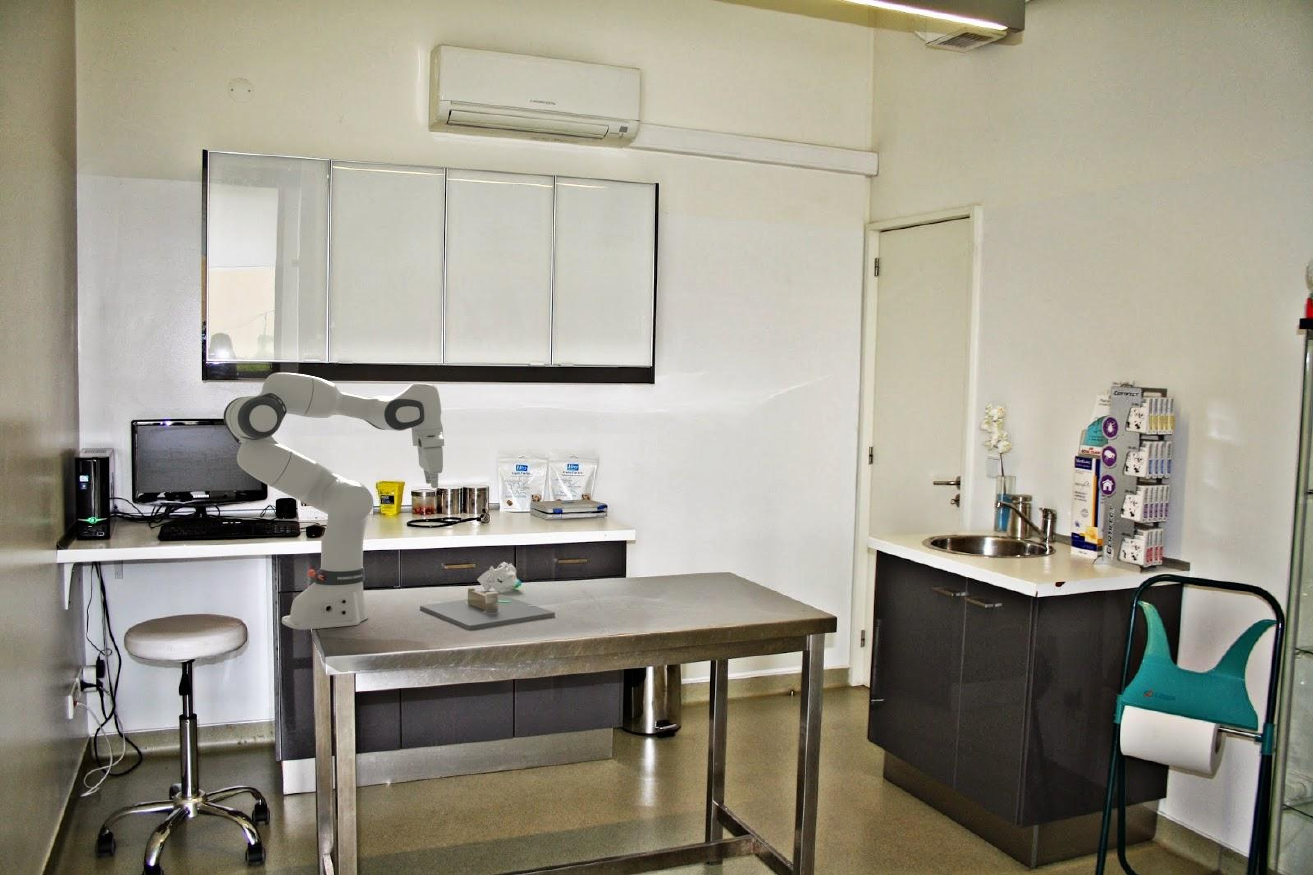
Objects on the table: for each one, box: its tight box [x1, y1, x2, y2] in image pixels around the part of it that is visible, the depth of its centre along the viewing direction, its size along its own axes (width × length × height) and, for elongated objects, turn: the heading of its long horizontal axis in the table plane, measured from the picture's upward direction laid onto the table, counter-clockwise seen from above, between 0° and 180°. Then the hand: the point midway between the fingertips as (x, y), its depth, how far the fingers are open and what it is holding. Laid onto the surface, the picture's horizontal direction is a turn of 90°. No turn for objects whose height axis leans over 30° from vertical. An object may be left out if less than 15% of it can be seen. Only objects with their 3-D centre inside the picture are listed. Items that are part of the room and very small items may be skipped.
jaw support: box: [476, 561, 522, 594], centre depth 320 cm, size 12×9×10 cm
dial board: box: [419, 594, 556, 631], centre depth 289 cm, size 28×28×1 cm
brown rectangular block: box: [467, 587, 499, 613], centre depth 289 cm, size 4×14×5 cm, turn 41°
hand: (431, 485), depth 291 cm, fingers open, 8 cm apart
